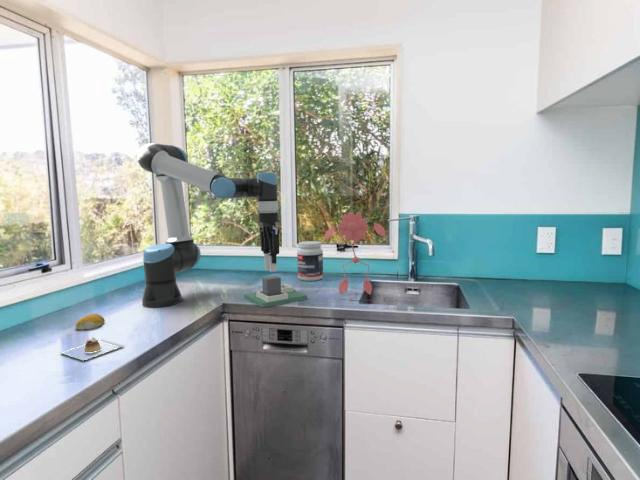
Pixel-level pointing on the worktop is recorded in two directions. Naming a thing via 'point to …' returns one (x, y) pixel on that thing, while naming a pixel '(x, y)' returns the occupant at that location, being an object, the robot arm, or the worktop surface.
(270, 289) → the plug
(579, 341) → the worktop surface
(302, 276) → the supplement tub
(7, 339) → the worktop surface
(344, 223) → the pink flower sprig
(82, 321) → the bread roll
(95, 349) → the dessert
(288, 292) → the board
